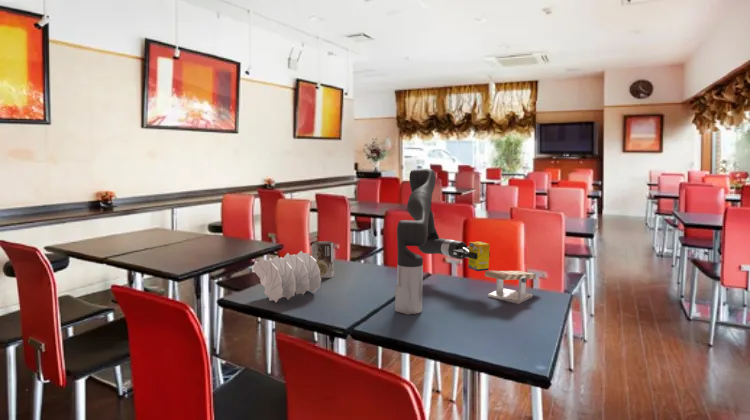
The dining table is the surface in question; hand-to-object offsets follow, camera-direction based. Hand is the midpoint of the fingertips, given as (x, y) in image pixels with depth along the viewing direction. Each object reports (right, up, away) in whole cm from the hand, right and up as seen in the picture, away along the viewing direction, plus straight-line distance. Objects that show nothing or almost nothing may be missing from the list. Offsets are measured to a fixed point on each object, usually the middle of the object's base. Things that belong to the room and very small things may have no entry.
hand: (483, 255), depth 188 cm
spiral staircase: (-78, -17, -1) cm, 79 cm away
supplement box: (-1, -6, +2) cm, 7 cm away
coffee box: (-68, -13, +31) cm, 76 cm away
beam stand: (+11, -17, -1) cm, 20 cm away
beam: (+11, -9, -1) cm, 14 cm away
